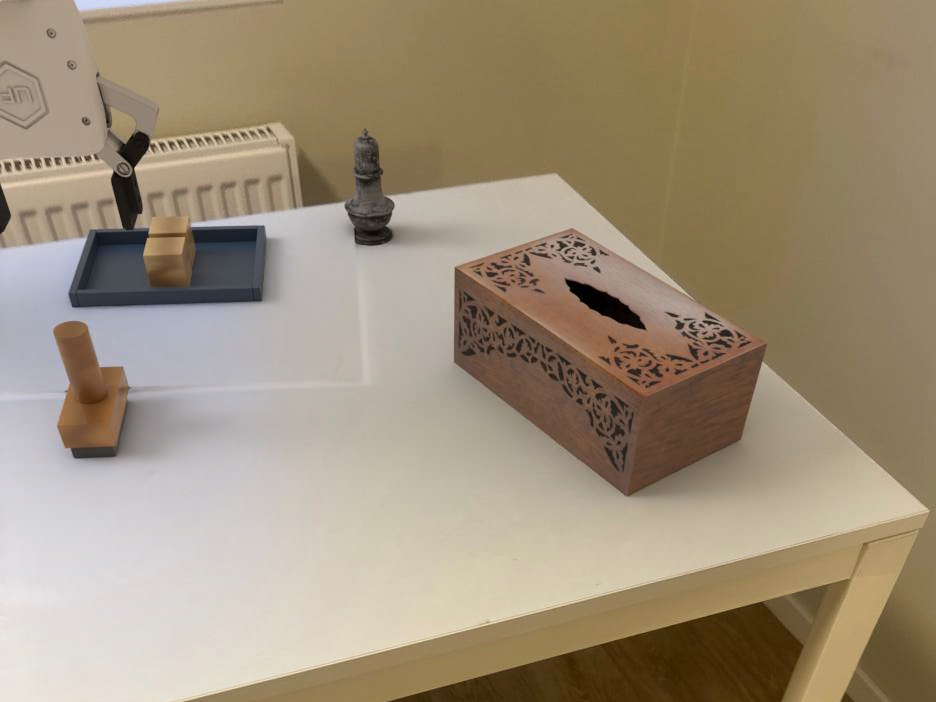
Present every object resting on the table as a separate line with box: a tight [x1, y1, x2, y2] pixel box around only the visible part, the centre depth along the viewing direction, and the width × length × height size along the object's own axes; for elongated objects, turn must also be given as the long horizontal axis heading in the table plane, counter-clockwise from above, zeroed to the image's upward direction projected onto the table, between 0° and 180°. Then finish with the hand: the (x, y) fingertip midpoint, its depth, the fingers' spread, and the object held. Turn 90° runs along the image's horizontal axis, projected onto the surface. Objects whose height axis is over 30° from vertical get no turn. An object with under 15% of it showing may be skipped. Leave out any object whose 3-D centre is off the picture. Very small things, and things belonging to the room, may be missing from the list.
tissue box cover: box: [453, 227, 768, 497], centre depth 90 cm, size 26×14×10 cm, turn 37°
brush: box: [52, 320, 130, 459], centre depth 84 cm, size 4×9×10 cm, turn 6°
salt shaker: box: [344, 127, 396, 246], centre depth 111 cm, size 6×6×12 cm
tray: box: [67, 224, 267, 308], centre depth 106 cm, size 20×15×2 cm
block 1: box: [149, 215, 196, 267], centre depth 107 cm, size 4×4×4 cm
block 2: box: [143, 237, 192, 288], centre depth 103 cm, size 4×4×4 cm
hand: (67, 224), depth 75 cm, fingers open, 9 cm apart
